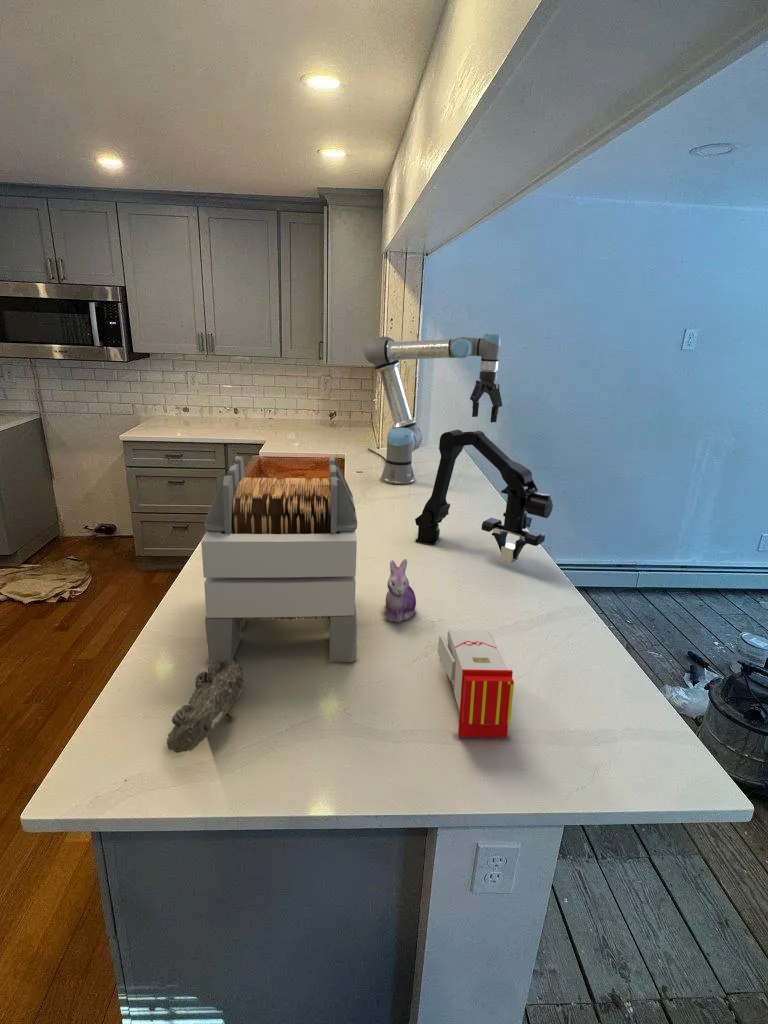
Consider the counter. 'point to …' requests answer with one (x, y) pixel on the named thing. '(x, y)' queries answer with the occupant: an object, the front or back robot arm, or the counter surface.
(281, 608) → the record storage crate
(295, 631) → the counter surface
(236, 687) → the fossil
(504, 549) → the block
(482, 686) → the toy
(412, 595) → the figurine
